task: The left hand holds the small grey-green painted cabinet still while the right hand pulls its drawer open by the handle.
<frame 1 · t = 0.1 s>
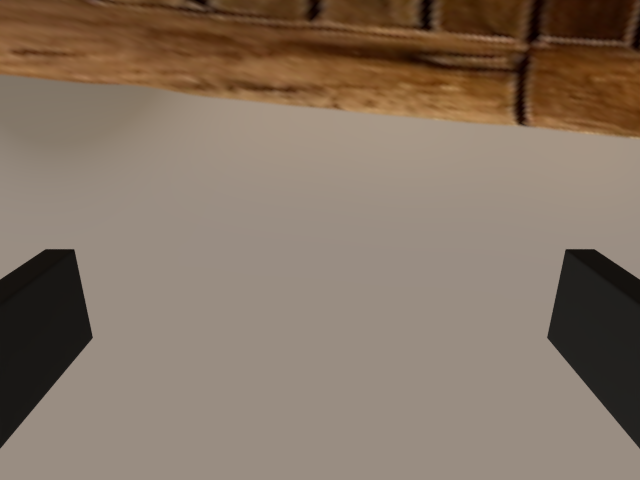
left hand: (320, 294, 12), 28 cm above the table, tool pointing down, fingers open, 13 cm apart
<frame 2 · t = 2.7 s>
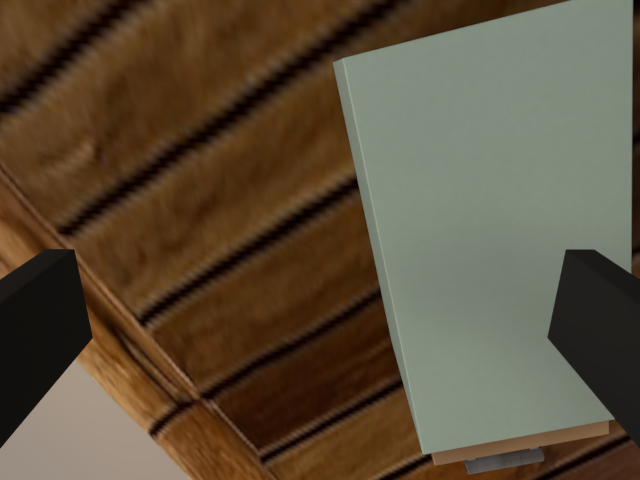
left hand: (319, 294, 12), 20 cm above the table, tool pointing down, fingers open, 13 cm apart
cabinet: (445, 199, 32), on the table
drawer: (480, 305, 29), point 6 cm above the table, slide at 0.9 cm
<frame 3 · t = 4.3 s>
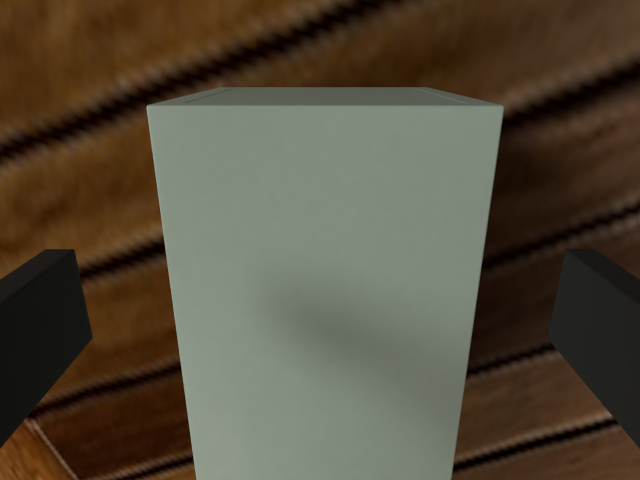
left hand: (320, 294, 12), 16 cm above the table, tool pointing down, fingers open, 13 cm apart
cabinet: (323, 263, 29), on the table
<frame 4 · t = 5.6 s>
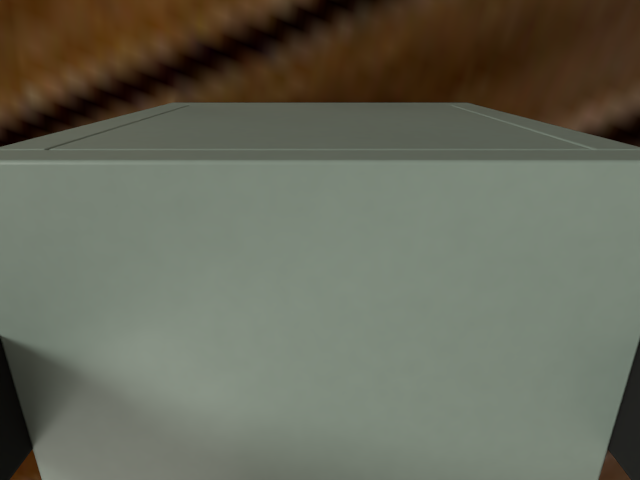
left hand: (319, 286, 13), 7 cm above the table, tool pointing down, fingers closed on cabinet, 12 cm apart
cabinet: (320, 338, 22), on the table, touching left hand
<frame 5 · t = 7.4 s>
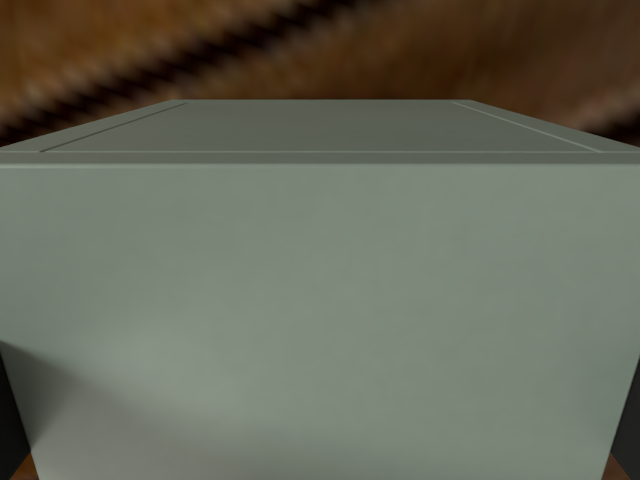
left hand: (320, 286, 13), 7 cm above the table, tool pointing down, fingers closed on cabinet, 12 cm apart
cabinet: (320, 336, 22), on the table, touching left hand
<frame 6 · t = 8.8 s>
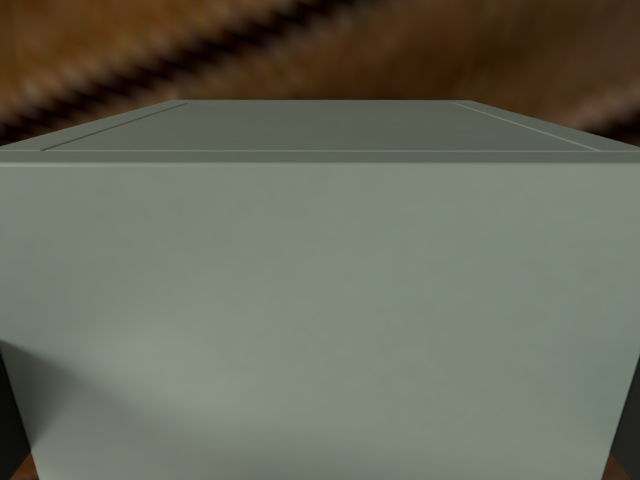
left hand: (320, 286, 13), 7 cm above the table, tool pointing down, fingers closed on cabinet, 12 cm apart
cabinet: (320, 337, 22), on the table, touching left hand
when the left hand's fingers open (7 cm above the table, at t = 10.5 s): cabinet stays where it is, on the table.
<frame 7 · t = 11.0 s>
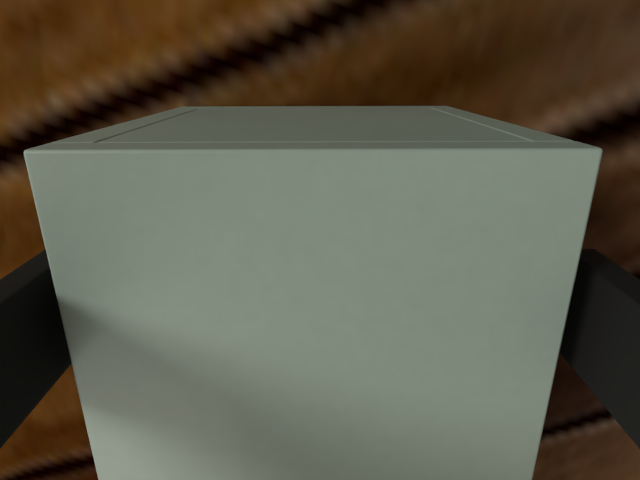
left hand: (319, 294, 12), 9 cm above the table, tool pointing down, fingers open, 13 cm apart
cabinet: (316, 322, 24), on the table
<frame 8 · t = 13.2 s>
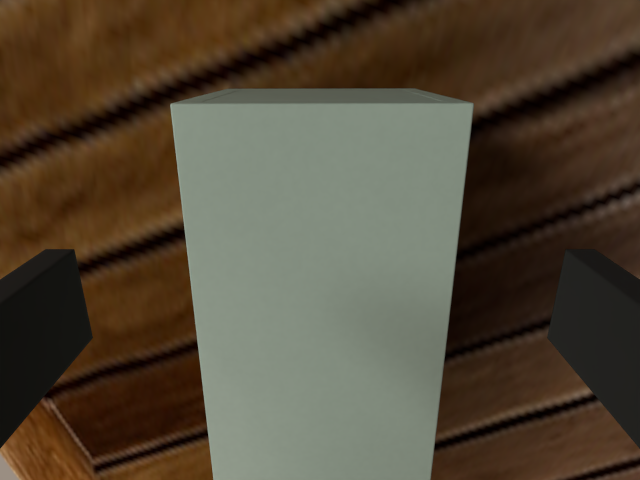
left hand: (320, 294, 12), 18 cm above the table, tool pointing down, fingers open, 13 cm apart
cabinet: (321, 250, 32), on the table
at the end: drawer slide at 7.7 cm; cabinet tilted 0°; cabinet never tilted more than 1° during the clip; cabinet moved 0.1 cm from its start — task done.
